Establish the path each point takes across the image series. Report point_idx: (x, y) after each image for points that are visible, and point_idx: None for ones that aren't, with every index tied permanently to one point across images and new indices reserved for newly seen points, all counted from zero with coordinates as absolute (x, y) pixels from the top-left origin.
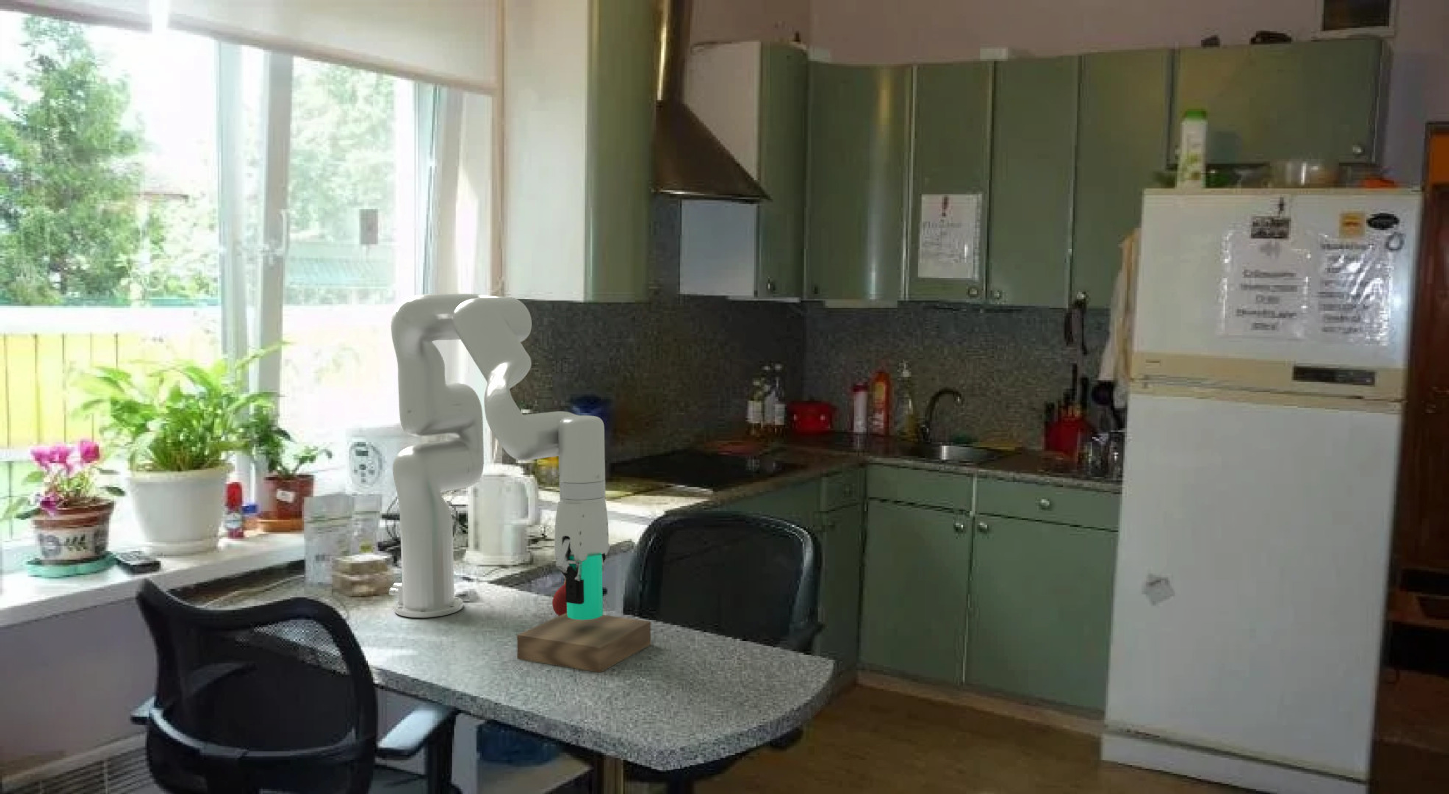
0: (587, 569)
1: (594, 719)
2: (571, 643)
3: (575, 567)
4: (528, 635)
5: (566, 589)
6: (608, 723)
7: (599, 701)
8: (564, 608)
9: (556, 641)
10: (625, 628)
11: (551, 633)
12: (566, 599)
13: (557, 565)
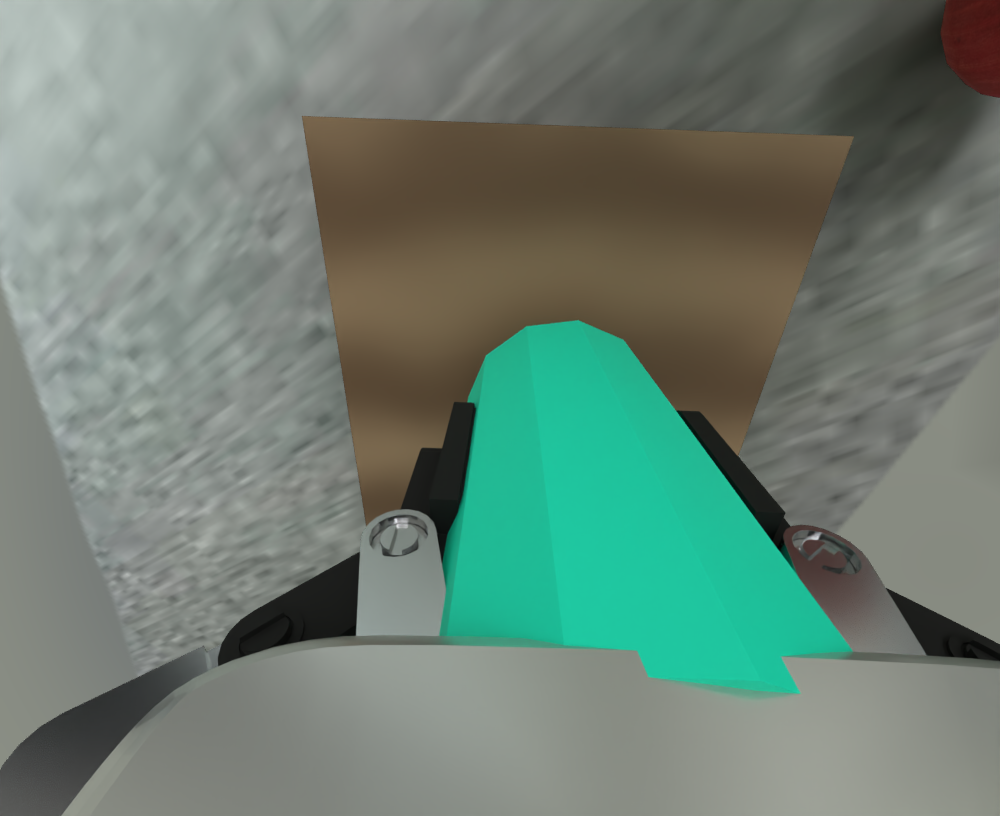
0: None
1: (143, 585)
2: (351, 429)
3: None
4: (330, 190)
5: (442, 448)
6: (151, 610)
7: (225, 554)
8: (974, 5)
9: (342, 363)
10: None
11: (418, 283)
12: (453, 409)
13: (41, 751)
